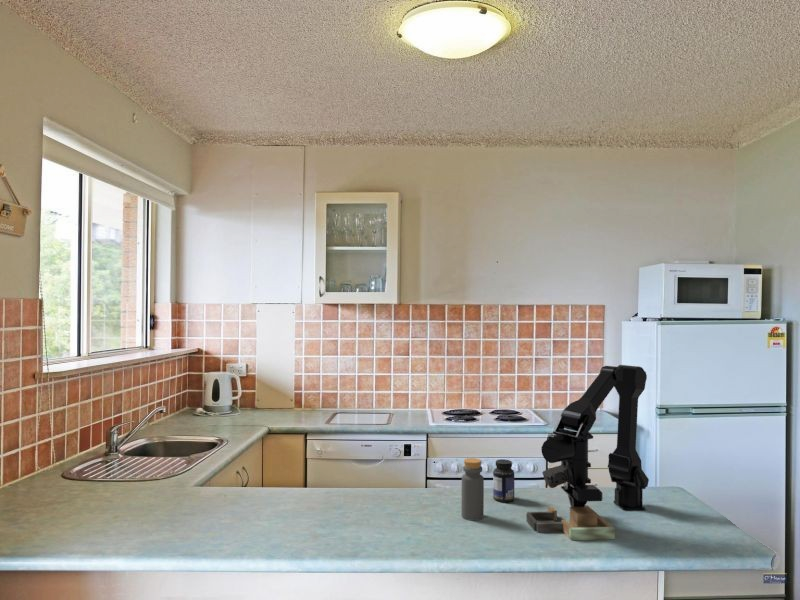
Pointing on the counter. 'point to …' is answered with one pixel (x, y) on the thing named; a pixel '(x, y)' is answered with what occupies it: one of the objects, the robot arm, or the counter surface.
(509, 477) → the pill bottle
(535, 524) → the channel
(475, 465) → the bottle
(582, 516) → the walnut block
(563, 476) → the robot arm
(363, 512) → the counter surface
